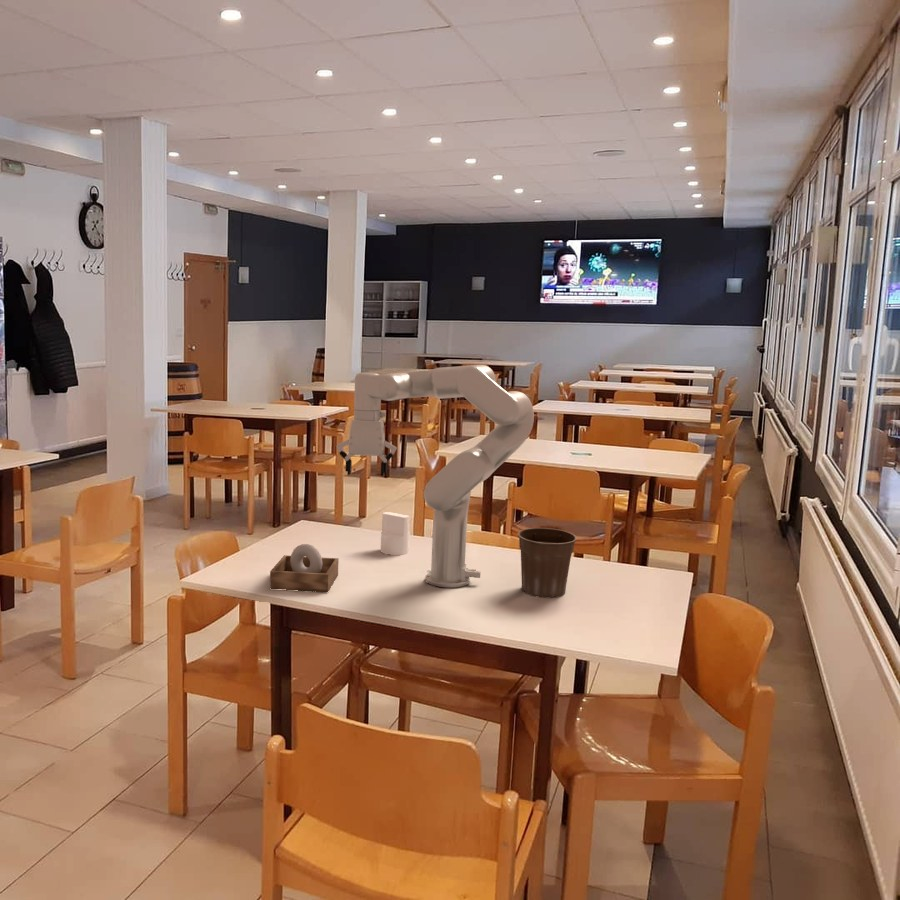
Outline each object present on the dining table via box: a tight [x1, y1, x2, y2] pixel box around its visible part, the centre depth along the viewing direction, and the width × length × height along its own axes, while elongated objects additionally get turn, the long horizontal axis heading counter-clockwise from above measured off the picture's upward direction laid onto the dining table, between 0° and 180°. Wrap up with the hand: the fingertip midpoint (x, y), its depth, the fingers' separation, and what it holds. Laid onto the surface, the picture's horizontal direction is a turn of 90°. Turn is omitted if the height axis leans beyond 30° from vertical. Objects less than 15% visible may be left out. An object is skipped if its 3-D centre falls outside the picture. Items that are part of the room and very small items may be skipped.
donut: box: [290, 543, 323, 573], centre depth 228 cm, size 10×3×10 cm, turn 64°
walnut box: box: [269, 555, 339, 593], centre depth 229 cm, size 16×16×5 cm
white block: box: [380, 511, 411, 556], centre depth 263 cm, size 9×9×12 cm
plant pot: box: [517, 527, 578, 598], centre depth 230 cm, size 16×16×16 cm
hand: (365, 474), depth 240 cm, fingers open, 9 cm apart
